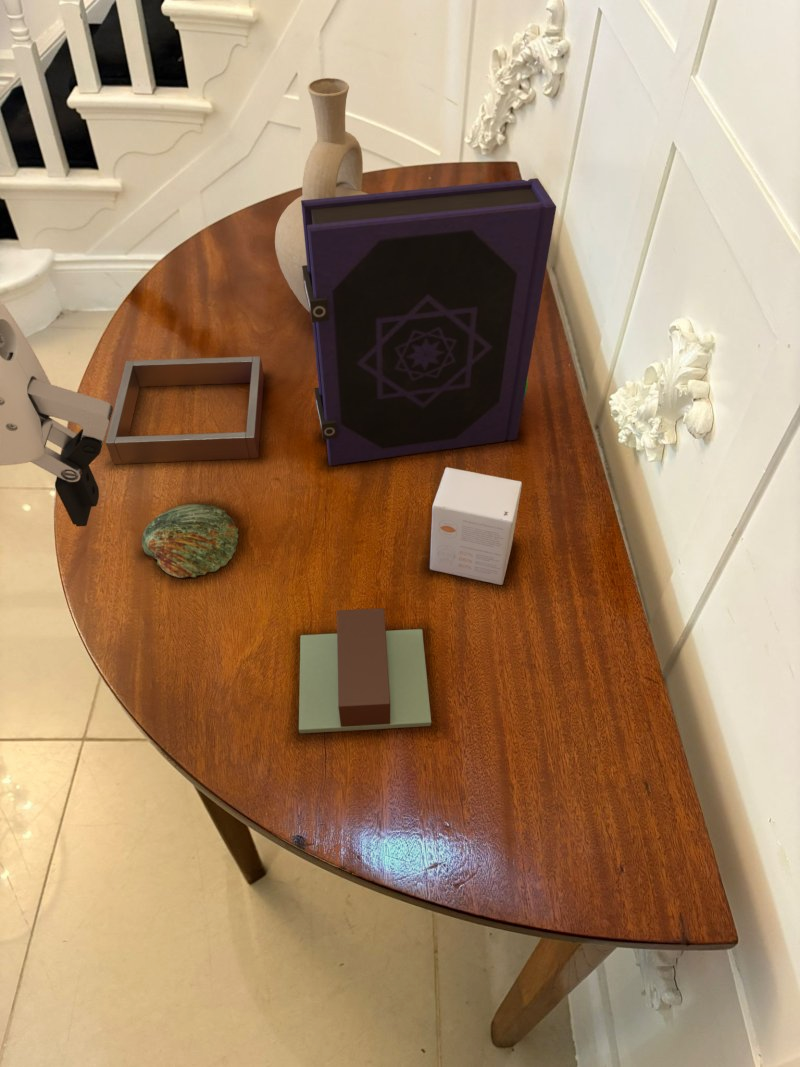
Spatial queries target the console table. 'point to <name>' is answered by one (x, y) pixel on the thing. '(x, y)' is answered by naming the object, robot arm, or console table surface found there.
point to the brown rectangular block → (362, 667)
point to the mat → (323, 683)
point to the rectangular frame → (185, 444)
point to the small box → (473, 525)
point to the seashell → (191, 540)
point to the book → (424, 314)
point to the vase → (320, 177)
